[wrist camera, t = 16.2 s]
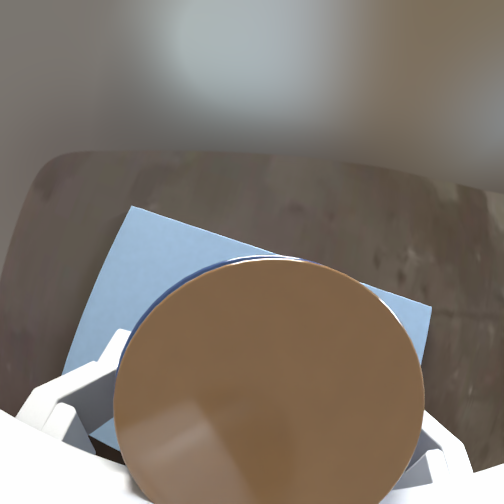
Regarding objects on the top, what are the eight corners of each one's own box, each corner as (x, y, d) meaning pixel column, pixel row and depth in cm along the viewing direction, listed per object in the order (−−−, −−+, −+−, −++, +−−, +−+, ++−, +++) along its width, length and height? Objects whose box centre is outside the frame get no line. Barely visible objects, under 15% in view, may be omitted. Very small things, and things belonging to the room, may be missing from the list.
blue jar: (167, 415, 13) (58, 492, 3) (210, 299, 15) (168, 190, 5) (290, 454, 12) (371, 573, 3) (329, 338, 14) (468, 293, 5)
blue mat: (54, 411, 15) (50, 411, 14) (133, 209, 19) (131, 205, 19) (363, 512, 13) (366, 515, 13) (428, 308, 18) (432, 307, 17)
